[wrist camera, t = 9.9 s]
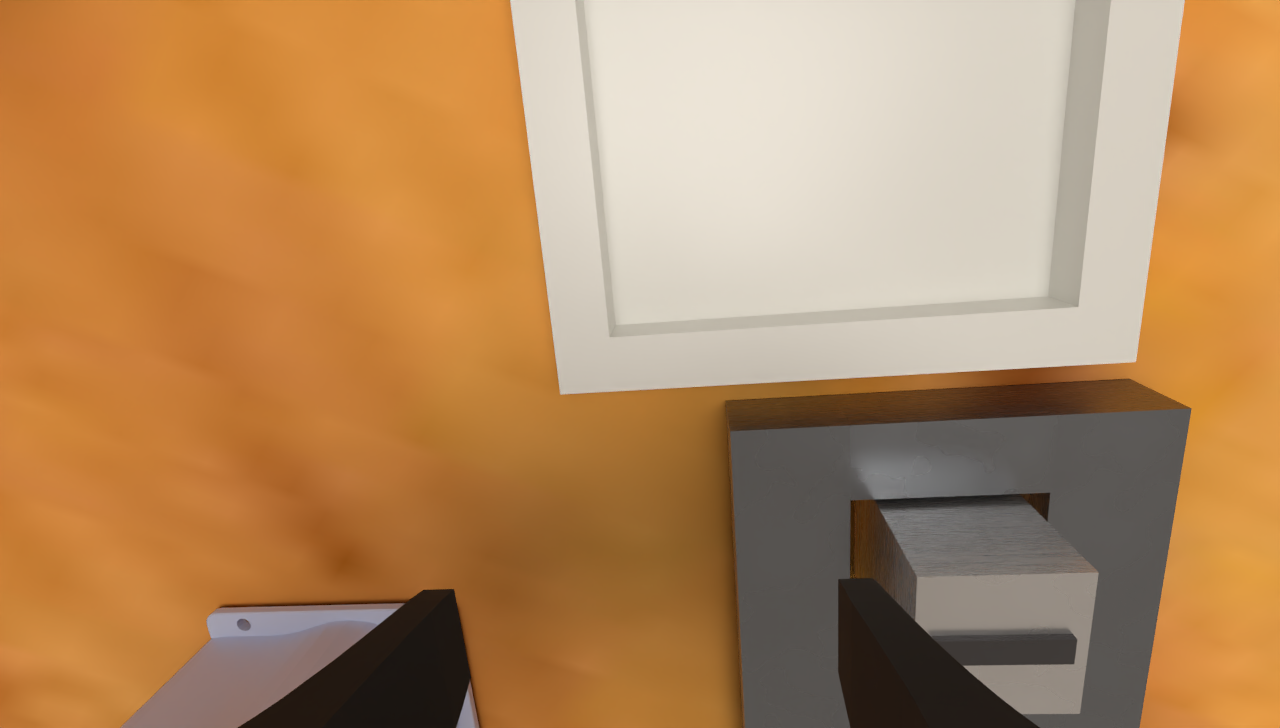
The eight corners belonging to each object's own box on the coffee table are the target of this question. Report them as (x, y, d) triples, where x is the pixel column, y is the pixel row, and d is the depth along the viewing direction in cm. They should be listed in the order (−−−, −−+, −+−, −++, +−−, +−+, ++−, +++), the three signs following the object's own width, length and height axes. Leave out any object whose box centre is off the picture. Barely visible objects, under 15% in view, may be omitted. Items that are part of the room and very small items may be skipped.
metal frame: (749, 866, 26) (755, 937, 24) (725, 400, 21) (730, 431, 18) (1064, 871, 25) (1103, 946, 23) (1129, 379, 19) (1191, 408, 17)
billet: (854, 572, 22) (913, 721, 16) (855, 465, 21) (919, 582, 15) (977, 569, 22) (1084, 720, 16) (985, 460, 20) (1104, 577, 15)
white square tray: (572, 373, 21) (560, 394, 19) (501, -217, 16) (476, -269, 14) (1092, 342, 19) (1135, 362, 17) (1167, -318, 15) (1236, -391, 13)
